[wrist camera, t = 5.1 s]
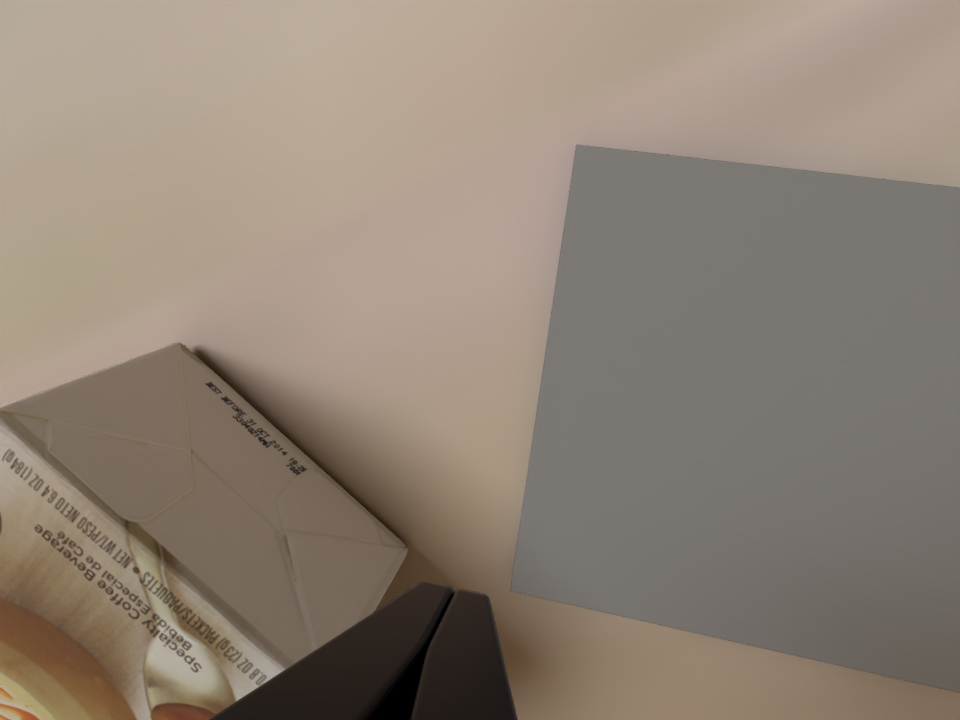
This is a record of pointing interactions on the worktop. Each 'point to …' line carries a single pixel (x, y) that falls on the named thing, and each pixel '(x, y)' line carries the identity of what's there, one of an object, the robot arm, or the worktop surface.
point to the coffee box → (167, 547)
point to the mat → (754, 411)
